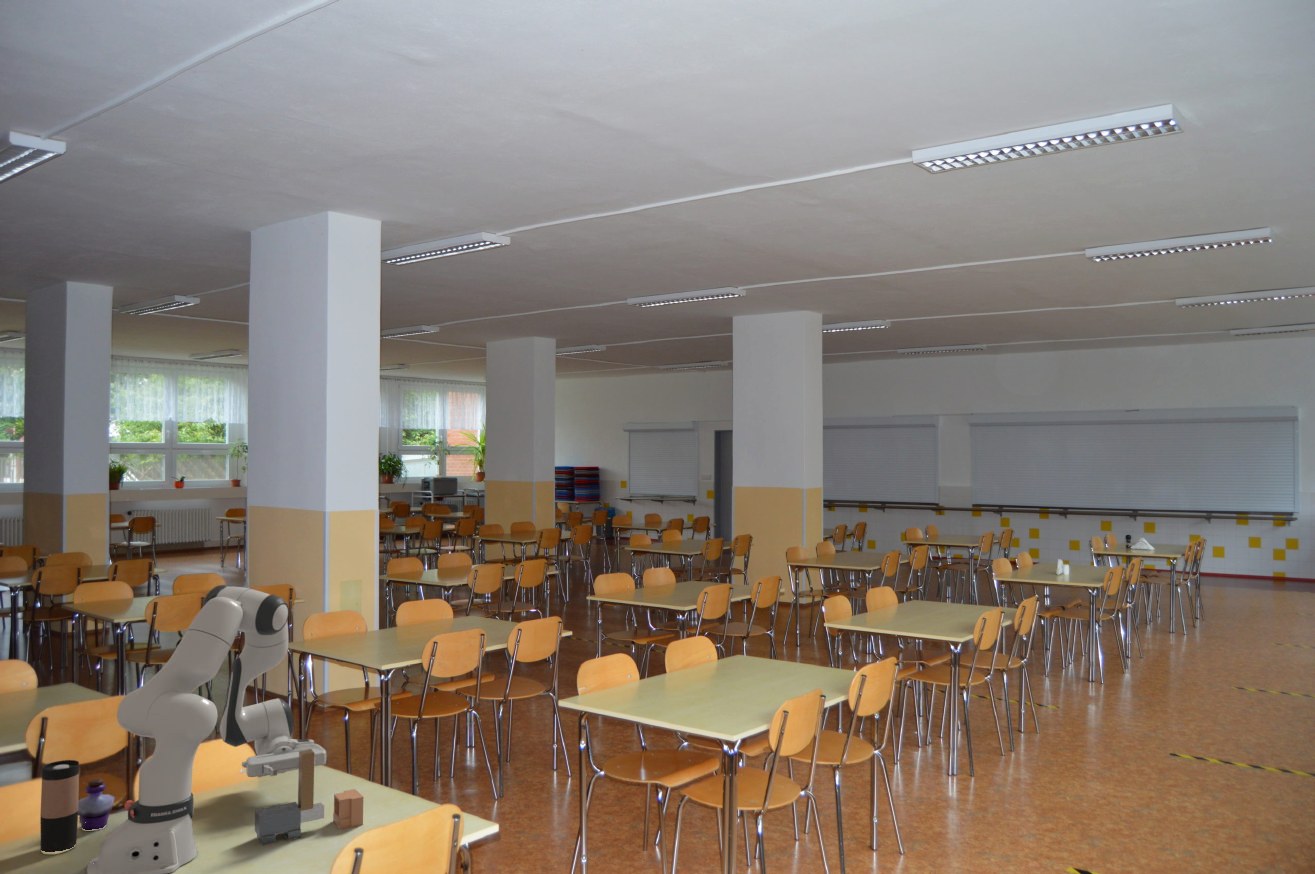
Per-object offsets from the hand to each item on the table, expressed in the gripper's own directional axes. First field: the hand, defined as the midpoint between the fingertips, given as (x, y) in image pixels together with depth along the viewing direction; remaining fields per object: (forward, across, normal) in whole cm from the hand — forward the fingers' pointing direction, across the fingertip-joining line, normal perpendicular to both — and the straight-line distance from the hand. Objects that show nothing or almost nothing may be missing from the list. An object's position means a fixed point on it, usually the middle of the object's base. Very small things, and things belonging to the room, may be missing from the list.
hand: (293, 769), depth 243 cm
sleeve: (+13, -6, +12) cm, 19 cm away
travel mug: (-9, -51, +12) cm, 54 cm away
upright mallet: (+13, -3, +9) cm, 16 cm away
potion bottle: (-19, -43, +12) cm, 49 cm away
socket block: (+13, +11, +12) cm, 21 cm away
